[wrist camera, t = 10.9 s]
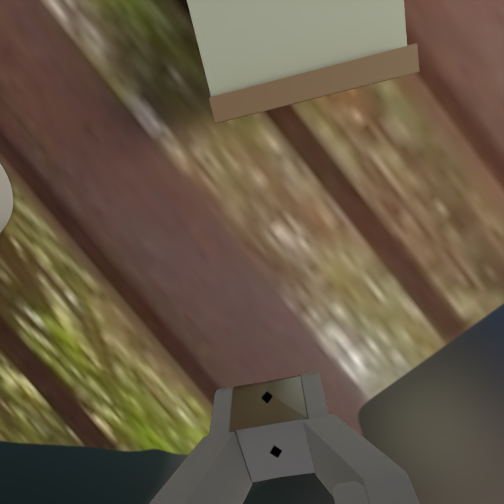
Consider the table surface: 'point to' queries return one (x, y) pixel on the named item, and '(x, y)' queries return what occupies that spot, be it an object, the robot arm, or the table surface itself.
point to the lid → (296, 50)
